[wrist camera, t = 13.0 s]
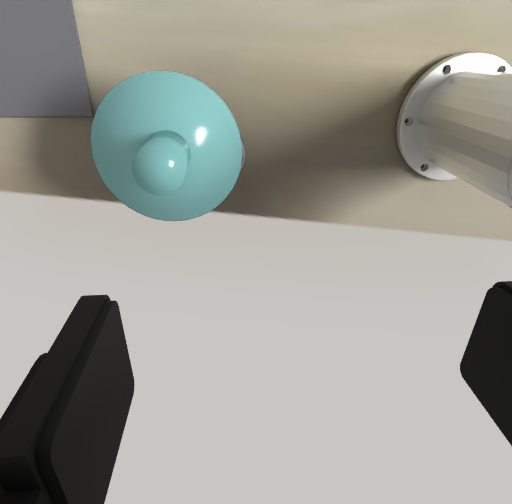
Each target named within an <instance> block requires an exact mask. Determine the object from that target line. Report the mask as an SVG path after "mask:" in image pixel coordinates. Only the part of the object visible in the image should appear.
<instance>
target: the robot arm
mask: <svg viewBox="0 0 512 504" xmlns="http://www.w3.org/2000/svg"><path fill="white" fill-rule="evenodd" d="M443 67H444V71H443V72H442V69H443ZM497 69H498V70H497ZM405 119H407V122H405ZM397 142H398V147H399V150H400V152H401V155H402V157H403V158H404V160H405V161H406V163H407V164H408V165H409V166H410V167H411V168H412V169H413V170H414V171H416V172H417V173H419V174H420V175H423V176H425V177H427V178H430V179H434V180H440V181H442V180H455V179H461V180H463V181H465V182H466V183H468V184H470V185H472V186H473V187H475V188H477V189H479V190H481V191H482V192H484V193H486V194H488V195H489V196H491V197H493V198H495V199H497V200H498V201H500V202H502V203H504V204H506V205H507V206H509V207H511V208H512V67H511V66H510V64H509V63H507V62H506V61H505V60H503V59H502V58H501V57H498V56H496V55H493V54H491V53H484V52H465V53H460V54H455V55H453V56H450V57H448V58H446V59H443V60H441V61H440V62H438V63H437V64H435V65H434V66H432V67H431V68H430V69H428V70H427V71H426V72H425V73H424V74H423V75H422V76H421V77H420V78H419V79H418V80H417V81H416V83H415V84H414V85H413V86H412V88H411V89H410V91H409V93H408V94H407V96H406V98H405V100H404V102H403V105H402V107H401V109H400V113H399V117H398V121H397ZM421 166H422V167H421ZM460 371H461V374H462V377H463V378H464V380H465V381H466V383H467V384H468V386H469V387H470V388H471V390H472V391H473V393H474V394H475V395H476V397H477V398H478V400H479V401H480V402H481V404H482V405H483V406H484V408H485V409H486V411H487V412H488V413H489V415H490V416H491V418H492V419H493V420H494V422H495V423H496V425H497V426H498V427H499V429H500V430H501V432H502V433H503V434H504V436H505V437H506V438H507V440H508V441H509V442H510V444H511V446H512V281H507V282H497V283H496V284H495V285H493V287H492V288H490V289H489V290H488V291H487V293H486V296H485V299H484V301H483V304H482V307H481V309H480V312H479V315H478V318H477V320H476V323H475V326H474V328H473V331H472V334H471V337H470V339H469V342H468V345H467V347H466V350H465V353H464V355H463V358H462V361H461V364H460ZM133 393H134V377H133V373H132V368H131V363H130V359H129V354H128V349H127V344H126V339H125V335H124V330H123V325H122V320H121V316H120V311H119V306H118V303H117V301H110V298H109V296H107V295H90V296H81V298H80V299H79V301H78V302H77V304H76V306H75V307H74V309H73V311H72V312H71V314H70V316H69V318H68V319H67V321H66V323H65V324H64V326H63V328H62V330H61V331H60V333H59V335H58V336H57V338H56V340H55V341H54V343H53V345H52V346H51V348H50V350H49V352H48V353H44V354H42V355H40V356H39V358H38V359H37V360H36V361H35V363H34V365H33V366H32V368H31V370H30V371H29V373H28V375H27V376H26V378H25V380H24V381H23V383H22V385H21V386H20V388H19V389H18V391H17V393H16V394H15V396H14V398H13V399H12V401H11V403H10V404H9V406H8V408H7V409H6V411H5V412H4V414H3V416H2V418H1V419H0V504H104V502H105V498H106V494H107V491H108V487H109V483H110V480H111V476H112V472H113V468H114V464H115V461H116V457H117V454H118V450H119V446H120V442H121V438H122V434H123V431H124V427H125V424H126V420H127V416H128V413H129V409H130V405H131V401H132V397H133Z"/></svg>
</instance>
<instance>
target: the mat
mask: <svg viewBox="0 0 512 504" xmlns="http://www.w3.org/2000/svg"><path fill="white" fill-rule="evenodd" d="M8 116H93V110H92V105H91V100H90V95H89V90H88V84H87V79H86V74H85V69H84V64H83V58H82V53H81V48H80V43H79V37H78V32H77V27H76V22H75V17H74V11H73V6H72V1H71V0H0V117H8Z"/></svg>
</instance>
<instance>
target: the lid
mask: <svg viewBox="0 0 512 504" xmlns="http://www.w3.org/2000/svg"><path fill="white" fill-rule="evenodd" d="M91 149H92V155H93V159H94V162H95V165H96V168H97V170H98V172H99V174H100V176H101V178H102V180H103V182H104V183H105V184H106V186H107V187H108V189H109V190H110V191H111V192H112V193H113V194H114V196H116V197H117V198H118V199H119V200H120V201H121V202H122V203H124V204H125V205H126V206H128V207H129V208H131V209H133V210H134V211H136V212H138V213H140V214H143V215H145V216H148V217H151V218H154V219H158V220H165V221H183V220H188V219H193V218H196V217H199V216H201V215H204V214H206V213H208V212H209V211H211V210H213V209H214V208H216V207H217V206H218V205H219V204H220V203H222V201H223V200H224V199H225V198H226V197H227V196H228V195H229V193H230V192H231V190H232V189H233V187H234V185H235V183H236V181H237V178H238V175H239V172H240V168H241V162H242V144H241V138H240V133H239V129H238V126H237V123H236V121H235V118H234V116H233V114H232V112H231V111H230V109H229V108H228V106H227V104H226V103H225V102H224V101H223V100H222V98H221V97H220V96H219V95H218V94H217V93H216V92H215V91H214V90H213V89H211V88H210V87H209V86H207V85H206V84H205V83H203V82H201V81H199V80H198V79H196V78H194V77H191V76H189V75H186V74H183V73H179V72H175V71H166V70H160V71H150V72H144V73H141V74H138V75H135V76H132V77H130V78H128V79H126V80H124V81H122V82H121V83H119V84H118V85H117V86H115V87H114V88H113V89H112V90H111V91H110V92H109V93H108V94H107V95H106V96H105V98H104V99H103V100H102V102H101V103H100V105H99V107H98V109H97V111H96V113H95V117H94V120H93V123H92V129H91Z"/></svg>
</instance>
